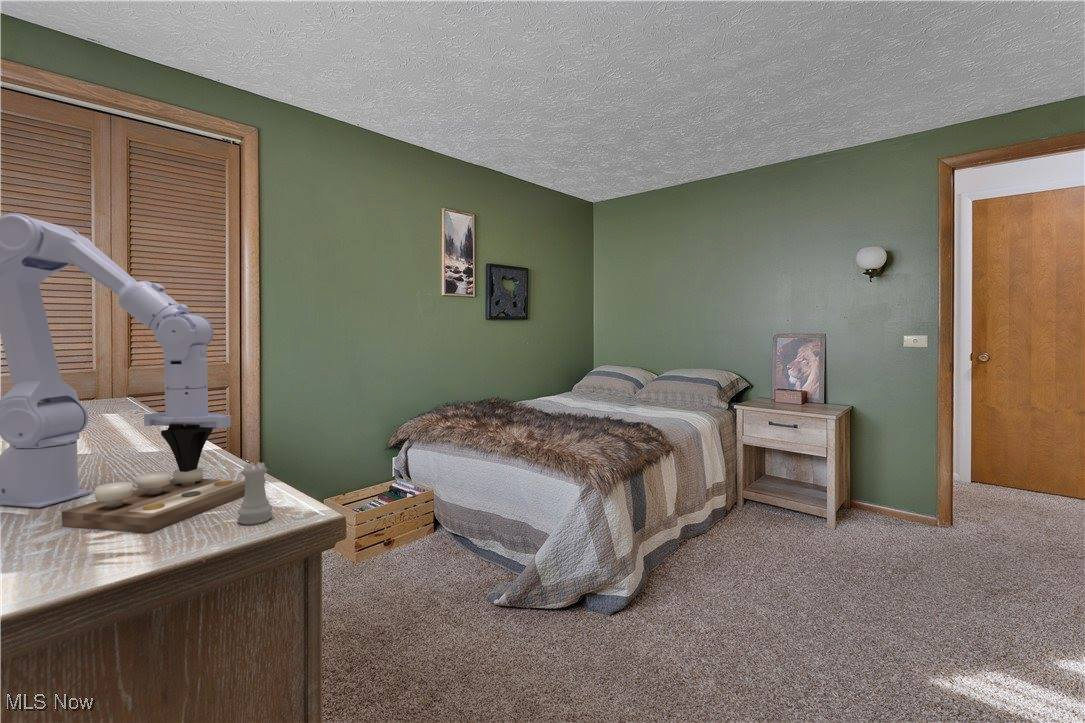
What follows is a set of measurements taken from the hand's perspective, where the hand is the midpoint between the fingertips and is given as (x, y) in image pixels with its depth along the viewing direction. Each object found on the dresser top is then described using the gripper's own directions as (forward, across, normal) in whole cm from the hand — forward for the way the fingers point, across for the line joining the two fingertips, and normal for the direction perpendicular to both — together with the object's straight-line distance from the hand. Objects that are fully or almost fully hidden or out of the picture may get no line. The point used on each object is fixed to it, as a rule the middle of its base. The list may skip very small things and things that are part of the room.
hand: (188, 470), depth 83 cm
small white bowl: (+3, 0, 0) cm, 3 cm away
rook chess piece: (+4, +19, -8) cm, 21 cm away
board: (+4, +2, -6) cm, 8 cm away
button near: (+2, 0, -12) cm, 12 cm away
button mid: (+2, 0, -6) cm, 6 cm away
